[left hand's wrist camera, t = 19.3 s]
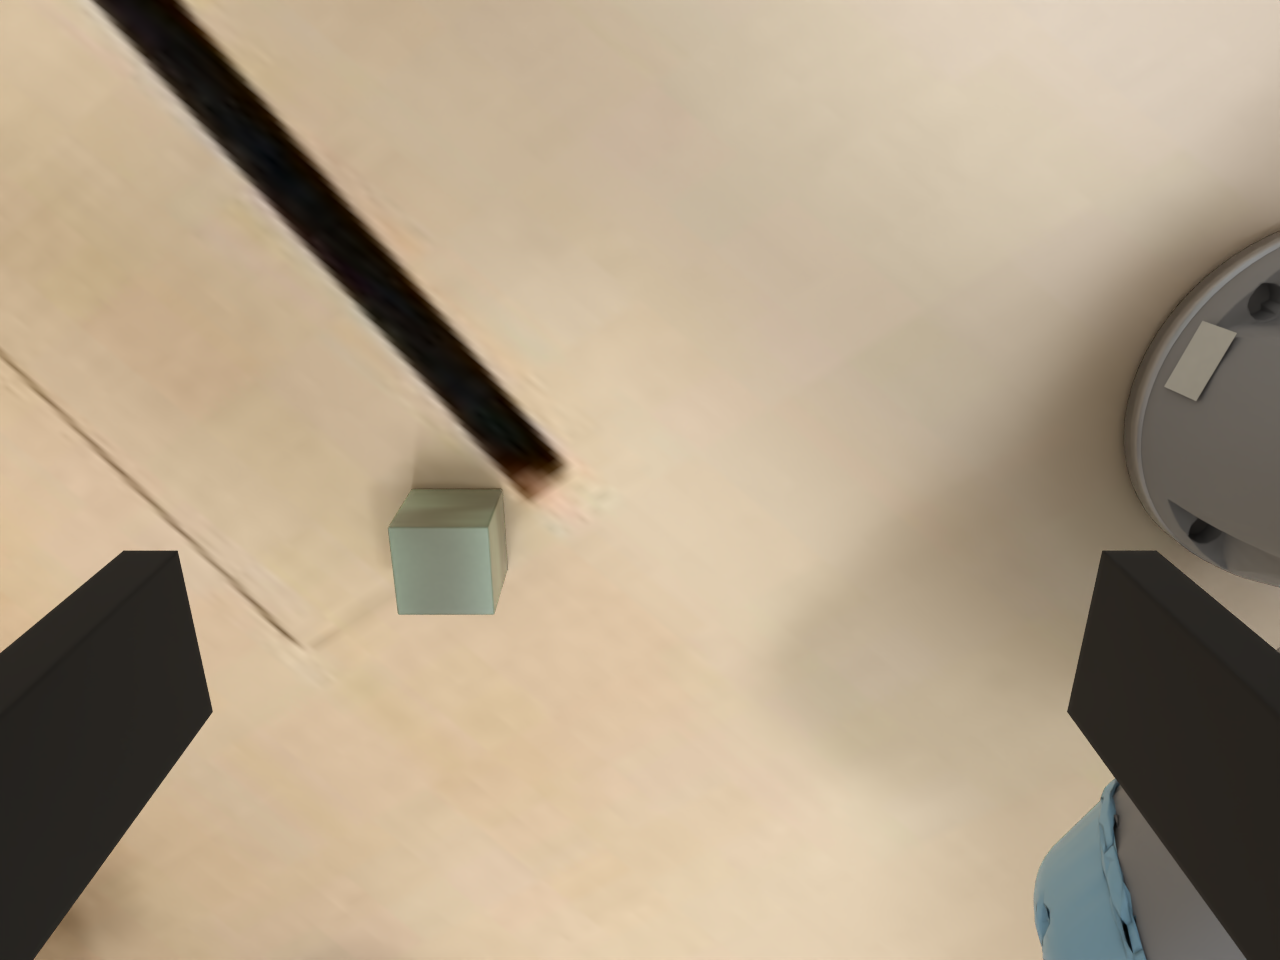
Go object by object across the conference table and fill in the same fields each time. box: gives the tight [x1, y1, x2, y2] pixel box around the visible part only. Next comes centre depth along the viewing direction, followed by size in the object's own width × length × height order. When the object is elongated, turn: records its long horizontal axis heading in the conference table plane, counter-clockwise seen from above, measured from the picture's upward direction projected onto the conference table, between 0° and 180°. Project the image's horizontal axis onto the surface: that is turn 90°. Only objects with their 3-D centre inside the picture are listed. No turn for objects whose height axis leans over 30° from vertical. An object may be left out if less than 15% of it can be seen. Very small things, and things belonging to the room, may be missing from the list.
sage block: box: [388, 489, 508, 615], centre depth 38 cm, size 4×4×4 cm
